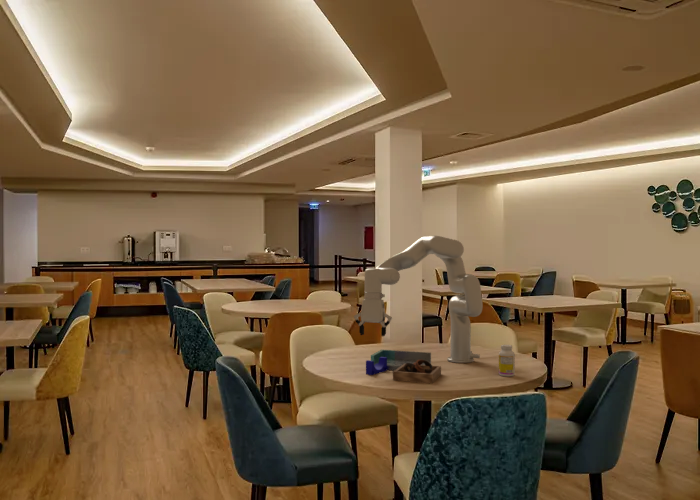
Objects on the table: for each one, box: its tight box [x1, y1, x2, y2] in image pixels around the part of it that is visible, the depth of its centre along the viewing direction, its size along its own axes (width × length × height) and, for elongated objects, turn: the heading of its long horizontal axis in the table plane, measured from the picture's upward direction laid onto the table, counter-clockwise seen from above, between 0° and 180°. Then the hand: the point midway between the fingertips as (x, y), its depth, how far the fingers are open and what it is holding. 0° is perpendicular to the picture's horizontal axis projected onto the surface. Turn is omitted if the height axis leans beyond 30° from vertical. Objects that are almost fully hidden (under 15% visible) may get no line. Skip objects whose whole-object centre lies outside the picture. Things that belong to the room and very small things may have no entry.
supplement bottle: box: [498, 344, 516, 378], centre depth 262 cm, size 7×7×13 cm
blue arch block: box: [365, 357, 388, 376], centre depth 267 cm, size 12×4×6 cm, turn 144°
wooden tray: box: [392, 364, 442, 384], centre depth 257 cm, size 16×18×4 cm
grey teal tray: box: [370, 349, 432, 371], centre depth 279 cm, size 24×17×6 cm
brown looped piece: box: [404, 359, 433, 374], centre depth 258 cm, size 12×10×8 cm
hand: (372, 335), depth 268 cm, fingers open, 9 cm apart
